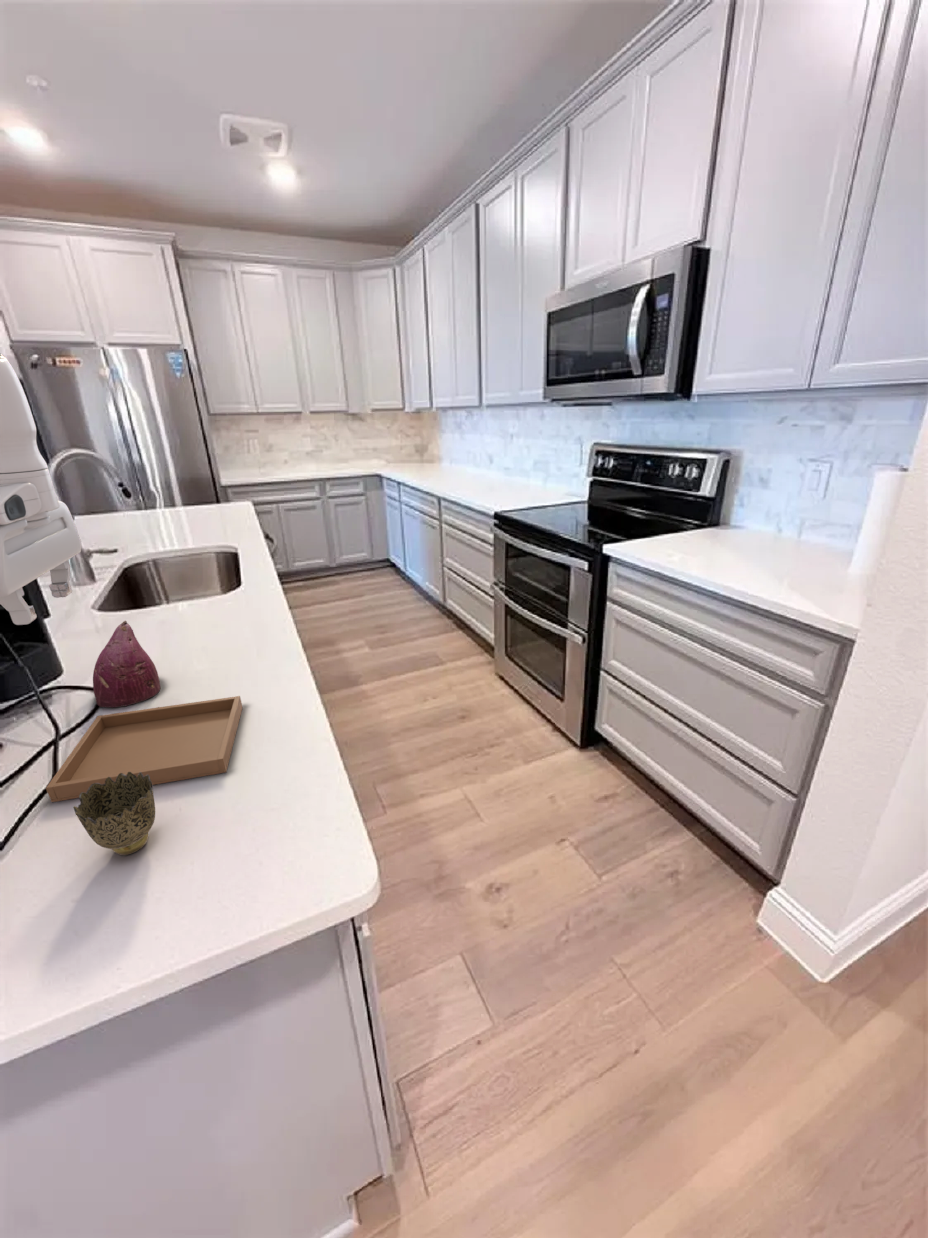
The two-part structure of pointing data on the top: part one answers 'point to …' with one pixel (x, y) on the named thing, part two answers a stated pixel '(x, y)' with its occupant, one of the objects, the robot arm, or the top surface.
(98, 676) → the vegetable
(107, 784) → the cup
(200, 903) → the top surface
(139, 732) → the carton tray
